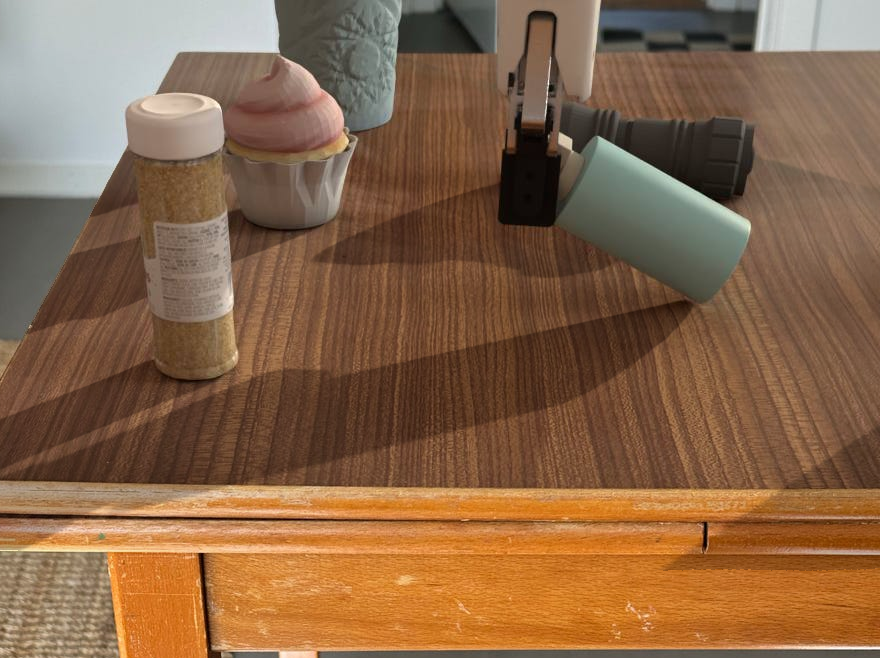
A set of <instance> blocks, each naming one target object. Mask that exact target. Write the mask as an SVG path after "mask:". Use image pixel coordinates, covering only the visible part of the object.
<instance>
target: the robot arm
mask: <svg viewBox="0 0 880 658" xmlns="http://www.w3.org/2000/svg"><path fill="white" fill-rule="evenodd" d="M601 4H602V0H496V69H497V70H496V75H497V77H496V78H497V82H496V83H497V91H498V92H499V94H501V95H502V96H503V97H504V98H505V99H508V102H509V109H508V110H509V111H508V122H507V128H506V130H505V140H504V148H502V151H501V163H500V164H501V166H500V179H499V193H498V208H497V221H498V222H499V223H500V224H501V225H504V226H518V227H534V228H535V227H536V228H551V227H553V226H555V225H554V223H555V218H556V207H557V197H558V187H559V177H560V166H561V156H562V152H557V150H558V139H559V129H560V118H561V108H562V105H563V101H564V90H565V93H566V96H567V97H577V103H578V104H583V103H584V102H586V101H587V100H588V99H589V98H590V97H591V96H592V86H593V78H594V68H595V67H594V66H595V59H596V58H595V57H596V49H597V40H598V30H599V22H600V13H601ZM551 108H552V112H551ZM560 133H562V134H563V132H560ZM548 135H549V143H548ZM547 148H548V152H547ZM516 149H517V150H516Z"/></svg>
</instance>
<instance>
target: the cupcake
mask: <svg viewBox="0 0 880 658" xmlns="http://www.w3.org/2000/svg"><path fill="white" fill-rule="evenodd" d="M222 119H223V128H224V144H223V146H222V162H224V164H225V165H226V167H227V169H228V170H229V175H230V177H231V180H232V183H233V186H234V189H235V193H236V195H237V199H238V201H239V202H238V203H239V206H240V208H241V212H242V214H243V215H244V217H245V219H247V220H248V221H249V222H250V223H253V224H255V225H257V226H261V227H265V228H269V229H277V230H298V229H308V228H312V227H316V226H320V225H323V224H327V222H329V221H331V220H332V219H333V218H335V216H337V213H338V211H339V208H340V204H341V203H340V202H341V199H342V193H343V188H344V184H345V180H346V175H347V172H348V171H347V170H348V168H349V167H348V166H349V163H350V161H351V159H352V156H353V154H354V150H355V149H356V146H357V143H358V141H359V138H358V137H357V136H356V135H353V134H351V133H350V132H349V128H348V127H344V118H343V114H342V111H341V108H340V107H339V105H338V104H337V102H336V101H335V99H334V98H333V97H332V96H331V95H329V94H328V93H327V92H326V91H324V90H323V89H321V88H320V86H319V85H318V83H317V81H316V80H315V79H314V77H313V76H312V75H311V73H309V72H308V71H307V70H306V69H304V68H303V67H302V66H300V65H299V64H296V63H294V62H292V61H290V60H288V59H286V58H284V57H282V56H281V54H276V56H275V58H274V60H273V62H272V65H271V70H270V73H268V74H267V73H266V74H263V75H260V76H258V77H256V78H253V79H251V80H250V81H249V82H248V83H247V84H246V85H245V86H244V87H243V88H242V90H241V91H240V92H239V93H238V96H237V97H236V100H235V101H234V102H232V104H231V105H230V106H229V107H228V108H227V109H226V111H225V112H224V114H223V117H222Z"/></svg>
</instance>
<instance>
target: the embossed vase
mask: <svg viewBox="0 0 880 658" xmlns="http://www.w3.org/2000/svg"><path fill="white" fill-rule="evenodd" d="M273 1H274V11H275V17H276V21H277V29H278V42H277V43H278V44H277V48H278V50H279V55H280V56H282V57H284V58H286V59H288V60H290V61H292V62H294V63H296V64H299V65H300V66H302V67H303V68H304V69H306V70H307V71H308V72H309V73H311V75H312V76H313V77H314V79H315V80H316V81H317V83H318V85H319V86H320V88H321V89H323V90H324V91H326V92H327V93H328V94H329V95H331V96H332V97H333V98H334V99H335V101H336V102H337V104H338V105H339V107H340V108H341V111H342V114H343V118H344V127H348V128H349V133H351V132H360V131H366V130H371V129H374V128H378V127H381V126H383V125H385V124H386V123H388V122H389V121H391V119H392V116H393V112H394V102H395V91H396V90H395V89H396V80H397V79H396V78H397V75H396V69H395V68H396V65H397V58H398V57H397V56H398V55H397V54H398V52H397V50H398V42H399V24H400V21H401V18H402V9H403V3H402V2H403V1H402V0H273Z"/></svg>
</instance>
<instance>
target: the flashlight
mask: <svg viewBox="0 0 880 658" xmlns="http://www.w3.org/2000/svg"><path fill="white" fill-rule="evenodd" d="M551 112H552V108H551ZM755 129H756V125H755V123H749V122H748V123H747V122H746V121H745V120H744V119H743V117H732V116H723V115H722V116H721V115H714V116H713V117H712V118H711V119H699V118H695V121H689V120H687V118H683V119H679V118H677V117H675V118H672V119H663V118H649V117H639V116H638V117H637V116H634V118H633V121H632V120H630V118H626V117H621V111H619V109H614V110H612V109H610V108H606V109H604V108H603V107H602V108H601V107H600V108H597V109H595V108H592V107H589V106H586V105H583V104H582V103H578V102H574V101H564V100H563V105H562V108H561V118H560V129H559V132H563V134H564V135H565V136H567V137H569V138H571V139H572V150H573V151H574V152H576V153H578V154H581V152H582V151H583V149H584V148H585V146H586V145H587V144H588V142H589V141H590V140H591V139H592V138H593V137H594V136H599V137H601V138H603V139H605V140H607V141H608V142H610V143H612V144H614V145H615V146H617V147H619V148H621V149H623V150H624V151H626V152H628V153H630V154H631V155H633V156H635V157H637V158H639V159H640V160H642V161H644V162H646V163H647V164H649V165H651V166H653V167H655V168H656V169H658V170H660V171H662V172H663V173H665V174H667V175H669V176H671V177H672V178H674V179H676V180H678V181H679V182H681V183H683V184H685V185H687V186H688V187H690V188H692V189H694V190H695V191H697V192H699V193H701V194H703V195H704V196H706V197H708V198H710V199H719V200H731V199H732V198H733V197H734V196H737V197H743V196H744V193H745V190H746V185H747V180H748V176H749V175H750V174H751V173H752V171H753V168H754V164H755V163H754V162H755V158H756V157H755V156H756V149H755V146H754V136H755Z"/></svg>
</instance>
